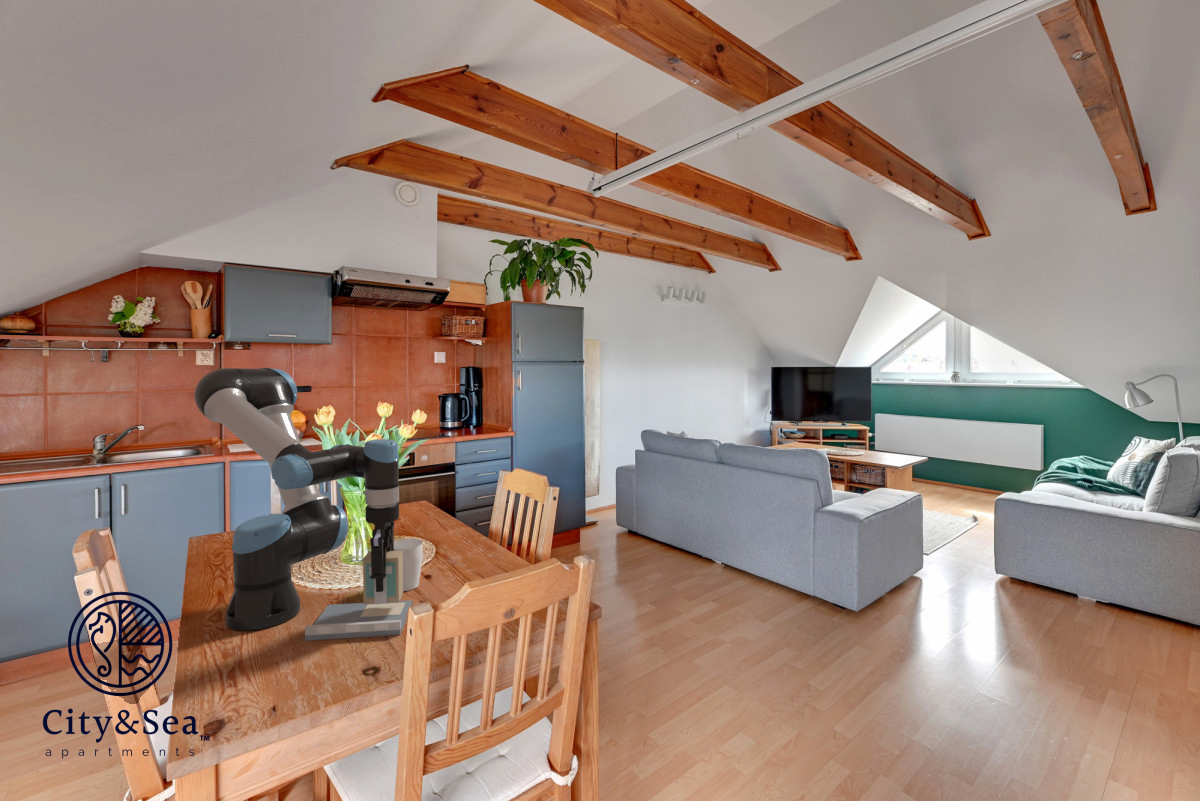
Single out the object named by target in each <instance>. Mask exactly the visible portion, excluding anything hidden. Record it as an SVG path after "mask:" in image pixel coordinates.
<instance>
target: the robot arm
mask: <svg viewBox="0 0 1200 801" xmlns="http://www.w3.org/2000/svg"><path fill="white" fill-rule="evenodd" d="M297 394H298V387H297V384H296V381H294V378H293V377H292V376H291V375H290V374H289V373H288V372H286V371H284V370H282V369H280V368H272V367H271V368H270V367H261V368H237V367H235V368H234V367H233V368H231V367H228V368H226V367H223V368H218V369H215V370H212V371H211V372H208V373H207V374H206V375H203V377H202V378H201V379H199V381H198V383H197V384H196V386H195V389H194V402H195V404H196V406H197V409H198V410H199V412H201V413H202V415H203V416H204V417H206V418H207V419H208V420H209V421H211V422H213V423H216V424H221V425H223V427H225V428H226V429H227V430H228V431H229V432H231V433H232V434H233V435H234V436H236V437H237V438H238V439H239V440H241V441H242V442H243V443H244V444H245V445H246V446H248V448H250V449H251V450H253V451H254V452H255V453H256V454H257V455H259V456H260V458H262V459H263V460H265V462H267V463H268V465H269V467H270V472H271V478H272V480H274V484H275V485H276V487H277V488H278V492H279V495H280V497H281V500H282V502H283V505H284V508H283V510H282V511H281V513H271V514H267V515H259V516H257V517H254V518H251V519H248V520H246V521H244V522H242V523H240V525H238V526H237V527H236V528H235V529H234V531H233V533H232V534H233V535H232V544H231V550H232V558H233V559H232V561H233V562H232V563H233V564H232V565H233V585H234V586H233V587H234V588H233V592H232V595H231V599H230V601H229V604H228V607H227V610H226V614H225V625H226V626H227V628H229V629H231V630H235V631H241V632H242V631H246V632H247V631H257V630H262V629H268V628H271V627H275V626H277V625H280V624H284V623H285V622H287V621H289V620H291V619H293V618H294V617H296V616H297V615H298V614H299V613H300V611H301V599H300V596H299V594H298V591H297V588H296V586H295V584H294V582H293V578H292V565H294V564H297V563H301V562H303V561H307V560H309V559H313V558H314V557H317V556H319V555H320V556H321V555H326V554H327V553H329V552H331V551H334V550H335V549H338V548H339V547H341V546H342V545H343V544H344V543H345V540H346V538H347V534H348V533H349V521H348V516H347V513H346V512H345V511H344V509H343V508H342V507H341V506H339V505H336V504H335V505H334V504H332V503H331V500H330V498H329V497H328V496H326V495H323V494H321V492H320V489H319V488H318V485H319V484H322V483H326V482H332V481H337V480H341V479H346V478H350V477H351V478H352V477H353V478H354V477H355V478H361V479H362V478H363V479H364V490H363V492H362V495H363V496H365V498H364V499H365V501H364V502H365V504H366V507H364V508H365V510H364V511H365V512H364V513H365V514H364V515H365V521H366V522H367V523H368V524H373V525H374V527H373V528H374V529H372V531H371V532H372V533H371V535H372V537H370V539H369V542H370V552H371V576H370V579H374V604H387V576H386V574H385V573H386V552H388V551H394V541H395V536H394V534H395V533H394V530H395V522H396V521H397V520H398V519H399V518H400V504H399V502H400V484H399V482H400V481H399V480H400V479H399V472H400V471H399V462H400V460H399V459H400V456H399V446H398V445H399V444H398V443H397V441H395V440H394V439H388V438H387V439H383V438H382V439H380V438H379V439H370V440H367V441H366V442H364V446H360V445H353V444H352V445H351V444H349V443H348V444H336V445H334V446H332V447H331V448H328V449H322V450H314V451H313V450H312V451H311V450H310V449H309V448H307V447H306V446H304V444H302V443H301V440H300V438H299V435H298V432H297V430H296V426H295V424H294V421H293V419H292V416H291V415H292V413H293V411H294V409H295V408H294V405H295V404H296V402H297V400H298V395H297Z"/></svg>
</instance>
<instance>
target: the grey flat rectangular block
mask: <svg viewBox="0 0 1200 801" xmlns="http://www.w3.org/2000/svg"><path fill="white" fill-rule="evenodd" d="M412 602H413V599H412V600H400V601H399V602H397V603H387V604H364V602H353V603H337V604H334V603H333V604H328V605H327V606H326V607H325V609H324V610H323V611H322V612H321V614H320V615H319V616H318V618H317V619H316V620H315V622H314V623H313V624H310V625H308V624H307V625H306V626H304V641H305V642H306V641H307V642H308V641H320V640H322V641H323V640H340V639H351V638H352V639H353V638H355V639H356V638H369V637H385V636H386V637H388V636H399V635H398V634H400V635H401V633H402V631H403V629H404V628H405V624H406V622H407V620H408V617H407V612H408V608H409V607H410V606H411V605H412V604H414V603H412ZM412 606H413V605H412ZM406 619H407V620H406Z"/></svg>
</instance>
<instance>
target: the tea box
mask: <svg viewBox="0 0 1200 801" xmlns="http://www.w3.org/2000/svg"><path fill="white" fill-rule="evenodd" d="M385 574H386V576H387V603H397V602H399V601H401V599H402V597H403V595H404V591H403V550H402V551H388V552H386V573H385ZM362 575H363V576H362V580H363V583H362V584H363V591H362V592H363V594H362V595H363V603H364V604H374V579H370V576H371V551H368V552H367V553H366V555H365V556H364V557H363V559H362Z"/></svg>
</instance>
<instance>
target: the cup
mask: <svg viewBox="0 0 1200 801" xmlns="http://www.w3.org/2000/svg"><path fill="white" fill-rule="evenodd" d="M423 548H424V546H423V541H422V540H421V539H417V538H402V539H397V540H394V551H402V550H403V592H408V591H412V590H414V589H416V588H418V587H419V585H420V578H421V570H422V564H423V556H424V549H423Z"/></svg>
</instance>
